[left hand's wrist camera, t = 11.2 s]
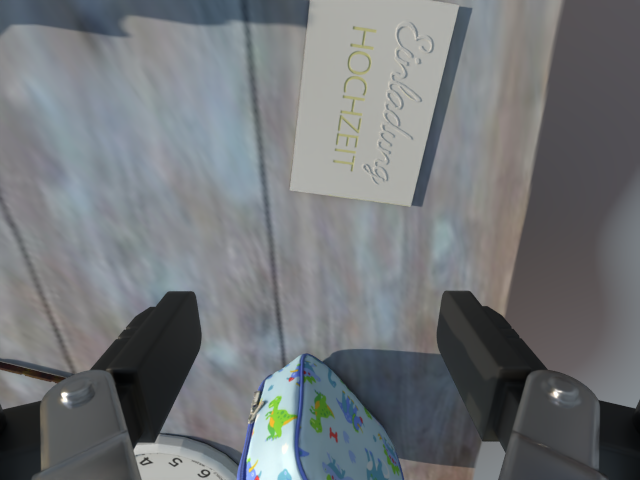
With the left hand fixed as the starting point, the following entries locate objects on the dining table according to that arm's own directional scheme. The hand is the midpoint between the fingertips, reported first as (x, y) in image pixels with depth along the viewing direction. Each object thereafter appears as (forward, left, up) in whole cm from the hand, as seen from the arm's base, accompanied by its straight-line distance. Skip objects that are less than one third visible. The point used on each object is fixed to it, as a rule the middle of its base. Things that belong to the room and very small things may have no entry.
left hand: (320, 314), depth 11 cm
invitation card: (-8, 0, -32) cm, 33 cm away
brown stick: (+52, -14, -32) cm, 62 cm away
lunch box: (+29, +25, -32) cm, 50 cm away
